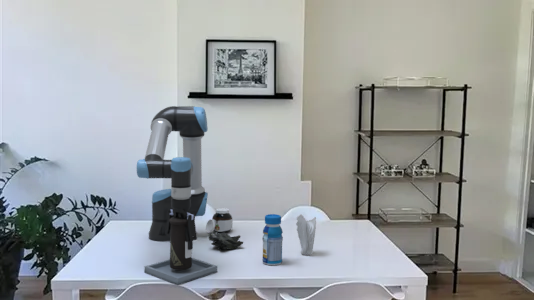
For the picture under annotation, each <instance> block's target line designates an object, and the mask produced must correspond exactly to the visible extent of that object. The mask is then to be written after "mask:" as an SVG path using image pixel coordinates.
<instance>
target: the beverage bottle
mask: <svg viewBox="0 0 534 300" xmlns="http://www.w3.org/2000/svg"><path fill="white" fill-rule="evenodd" d="M264 224H265V226H264V227H263V230H262V234H263V235H262V263H263V264H264V265H268V266H279V265H281V264H282V263H283V240H284V239H283V238H284V237H283V229H282V227H281V224H282V216H281V215H280V214H274V213H272V214H271V213H270V214H265V215H264Z"/></svg>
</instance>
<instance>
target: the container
mask: <svg viewBox="0 0 534 300" xmlns="http://www.w3.org/2000/svg"><path fill="white" fill-rule="evenodd" d="M169 222H170V224H171V233H170V234H171V235H170V241H169V247H170V249H169V259H170V268H172V269H175V270H186V269H189V268H191V267H192V258H193V256H192V257H189V258H185V241H186V240H187V239H186V236H185V226H186V227H188V219H180V218H179V217H176V218H175V217H172V218H170V220H169ZM189 238H190V237H189Z"/></svg>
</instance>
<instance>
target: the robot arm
mask: <svg viewBox="0 0 534 300" xmlns="http://www.w3.org/2000/svg"><path fill="white" fill-rule="evenodd" d="M150 131H151V132H150V136H149V139H148V144H147V147H146V152H145V155H144V158H143V159H139V160H138V161H137V162H136V175H137V177H138V178H139V179H171V183H170V184H171V187H170V188H166V189H160V190H155V191H154V192H153V193H152V198H151V199H152V200H151V209H152V210H151V212H152V213H151V214H152V215H151V217H152V218H151V220H152V221H151V225H150V227H149V232H148V240H152V241H156V242H158V241H159V242H167V241H169V242H170V235H171V234H170V233H171V224H170V222H169V220H170V218H172V217H175V218H176V217H179V218H180V219H188V227H186V226H185V236H186V239H187V240H186V241H185V258H189V257H192V258H193V246H194V245H193V244H194V243H193V242H194V241H196V240H198V239H197V229H196V228H197V227H196V218H197V217H203V216H205V214H206V209H207V202H208V192H207V191H206V190H205V187H204V186H203V184H202V183H203V182H202V176H203V175H202V139H203V138H204V137H205V133H206V132H208V119H207V114H206V109H205V108H204V107H201V106H195V105H194V106H193V105H191V106H190V105H187V106H186V105H185V106H180V105H179V106H178V105H177V106H175V105H174V106H166V107H165V108H162V110H160V111H159V112H157V113H156V114H155V115H154V116H153V118H152V120H151V122H150ZM172 132H179V137H180V138H181V139H182V156H181V157H180V156H177V157H173V158H172V159H164V158H165V155H166V154H165V153H166V149H167V145H168V140H169V139H168V138H169V136H170V135H171V133H172ZM189 237H190V238H189Z"/></svg>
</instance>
